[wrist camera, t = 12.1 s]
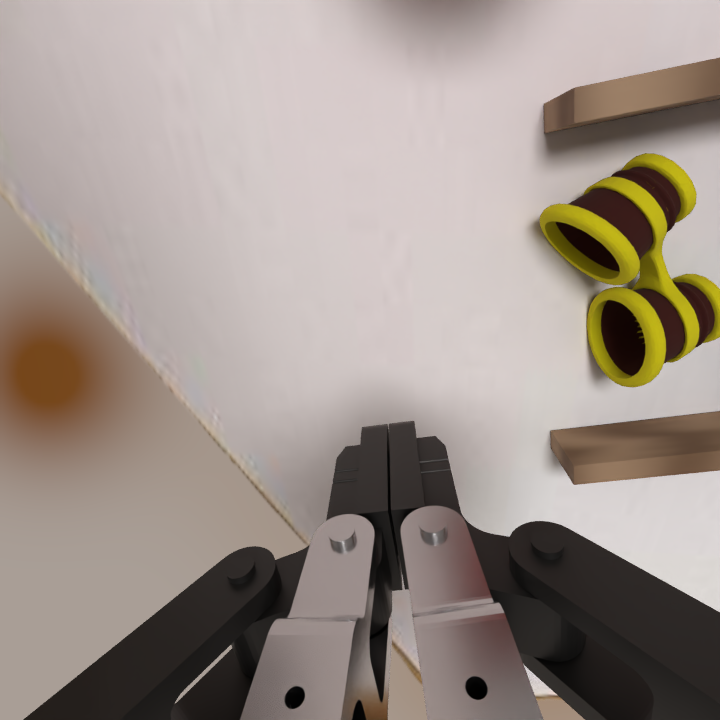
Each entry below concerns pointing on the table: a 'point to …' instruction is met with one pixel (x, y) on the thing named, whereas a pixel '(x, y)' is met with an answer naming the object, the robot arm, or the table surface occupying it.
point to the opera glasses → (636, 269)
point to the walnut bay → (653, 436)
